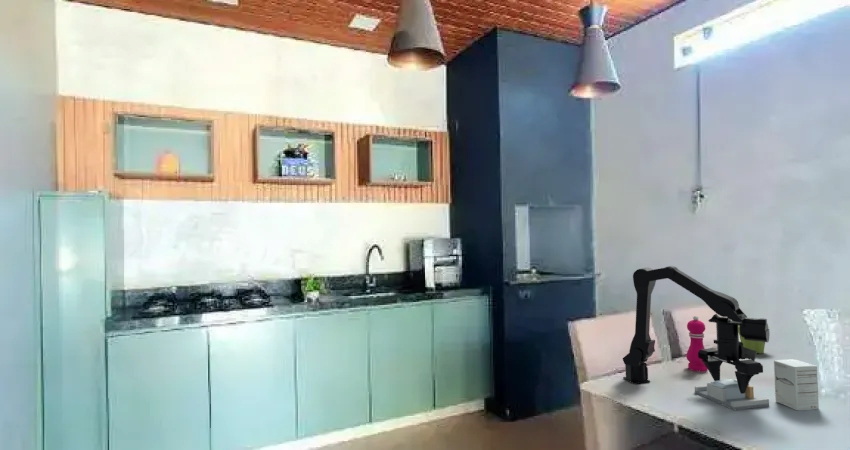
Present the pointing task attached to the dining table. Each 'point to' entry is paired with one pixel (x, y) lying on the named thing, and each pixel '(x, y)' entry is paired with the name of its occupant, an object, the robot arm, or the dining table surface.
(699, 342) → the pepper mill
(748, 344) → the plant pot
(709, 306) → the robot arm
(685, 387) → the dining table surface
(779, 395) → the supplement box
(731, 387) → the light blue knobbed block
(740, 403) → the mounting plate
